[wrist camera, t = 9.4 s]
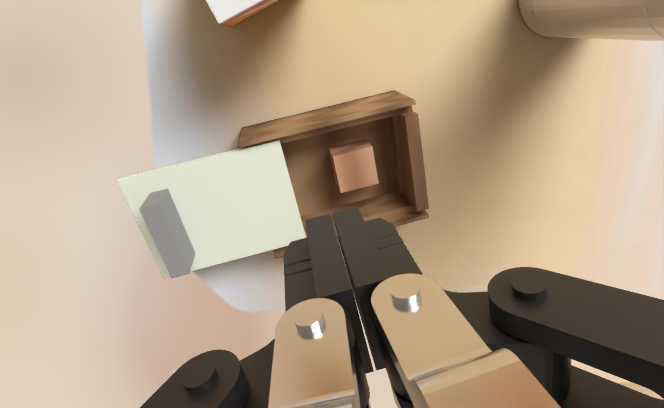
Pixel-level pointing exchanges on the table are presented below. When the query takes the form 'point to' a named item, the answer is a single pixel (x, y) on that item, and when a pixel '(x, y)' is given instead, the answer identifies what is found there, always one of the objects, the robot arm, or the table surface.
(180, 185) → the cover plate
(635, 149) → the table surface
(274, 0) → the small box
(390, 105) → the walnut box
